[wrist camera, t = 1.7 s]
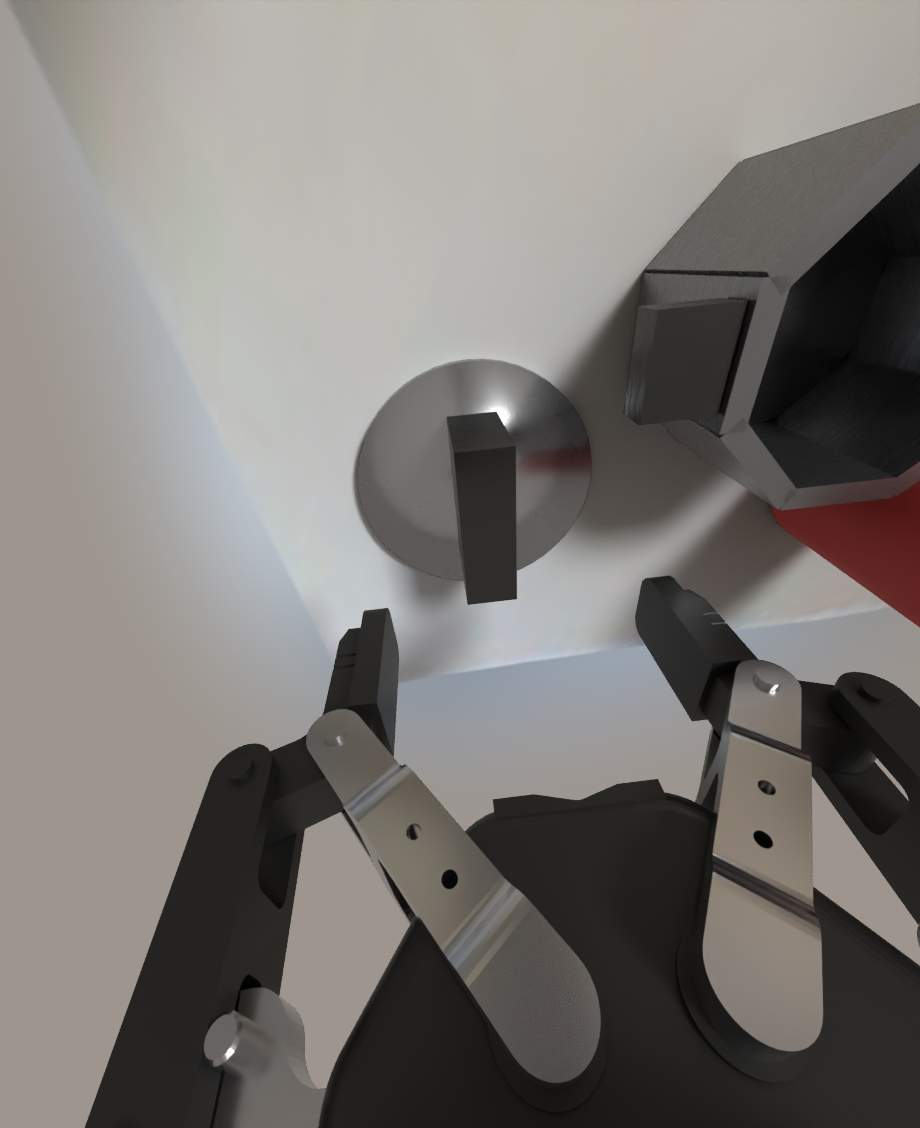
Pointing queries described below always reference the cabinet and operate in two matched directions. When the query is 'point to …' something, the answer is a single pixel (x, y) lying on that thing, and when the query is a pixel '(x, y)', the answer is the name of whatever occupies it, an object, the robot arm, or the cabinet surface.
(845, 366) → the pot
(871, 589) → the beer can
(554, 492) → the lid
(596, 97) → the cabinet surface
